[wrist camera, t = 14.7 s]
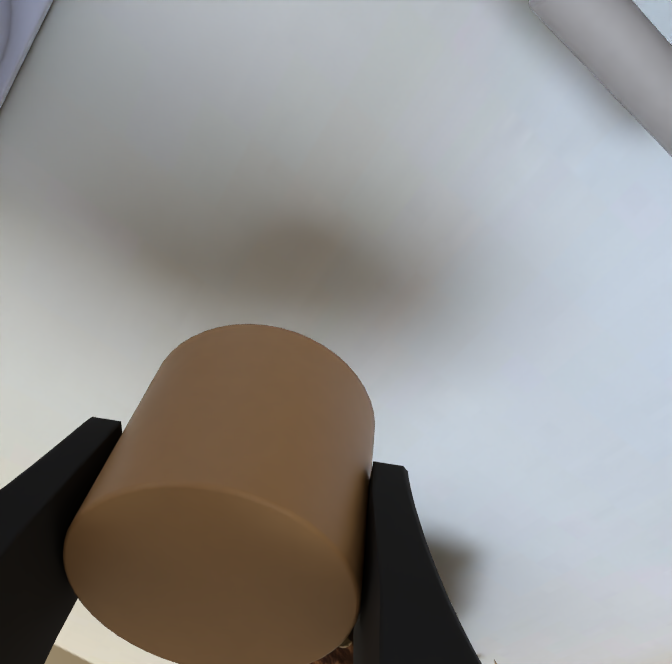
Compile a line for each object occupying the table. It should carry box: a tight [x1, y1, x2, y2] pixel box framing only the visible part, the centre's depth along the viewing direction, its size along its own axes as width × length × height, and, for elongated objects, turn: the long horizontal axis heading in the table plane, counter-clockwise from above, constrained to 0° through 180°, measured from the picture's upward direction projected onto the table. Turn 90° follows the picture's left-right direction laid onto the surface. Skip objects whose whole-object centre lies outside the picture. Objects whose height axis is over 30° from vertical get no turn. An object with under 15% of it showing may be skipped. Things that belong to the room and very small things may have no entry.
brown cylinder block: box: [63, 324, 375, 664], centre depth 13 cm, size 5×5×5 cm
